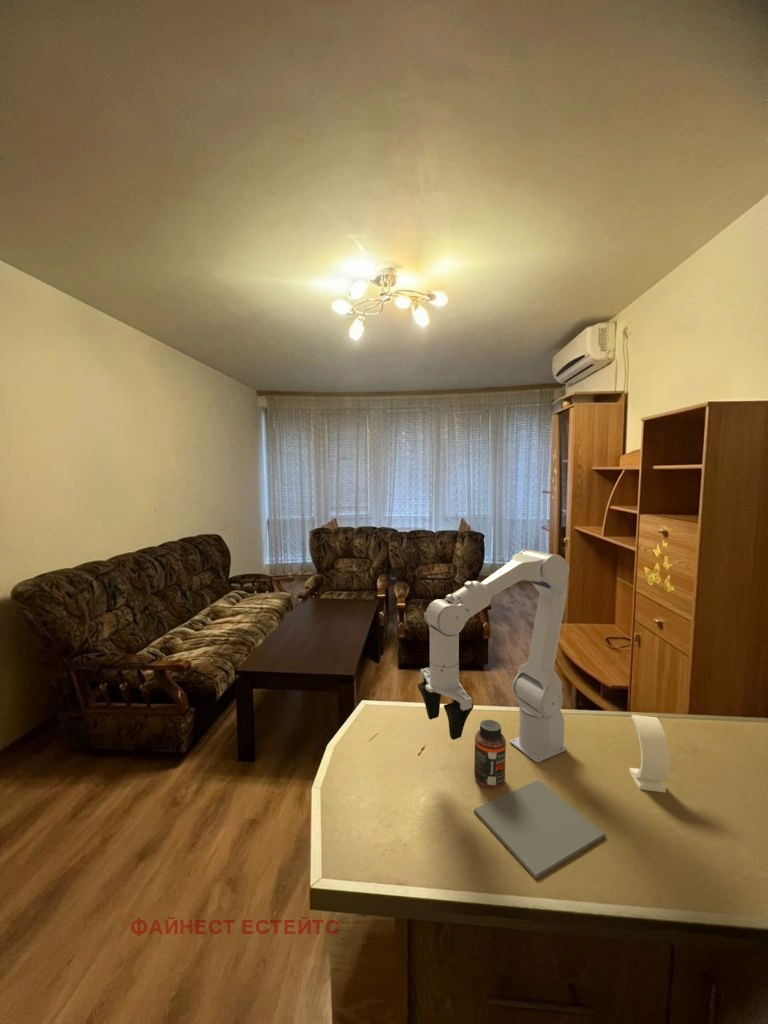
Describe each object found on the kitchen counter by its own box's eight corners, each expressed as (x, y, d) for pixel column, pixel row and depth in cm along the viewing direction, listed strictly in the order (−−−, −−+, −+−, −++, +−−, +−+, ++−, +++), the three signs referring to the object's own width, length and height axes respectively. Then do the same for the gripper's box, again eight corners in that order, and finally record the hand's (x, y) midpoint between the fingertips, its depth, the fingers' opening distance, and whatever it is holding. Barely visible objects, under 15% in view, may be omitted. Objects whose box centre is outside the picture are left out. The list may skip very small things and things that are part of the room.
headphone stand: (654, 774, 82) (656, 717, 82) (668, 796, 76) (671, 735, 76) (629, 771, 83) (631, 714, 82) (641, 793, 77) (643, 732, 77)
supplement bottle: (500, 795, 77) (501, 737, 76) (469, 783, 80) (470, 727, 79) (508, 776, 82) (509, 721, 81) (479, 765, 85) (480, 713, 84)
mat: (538, 782, 80) (538, 779, 80) (604, 836, 68) (605, 833, 68) (474, 812, 73) (474, 808, 73) (535, 878, 60) (535, 875, 60)
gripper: (408, 652, 85) (408, 714, 86) (449, 681, 72) (449, 754, 73) (435, 645, 89) (436, 706, 89) (480, 672, 76) (480, 742, 77)
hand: (444, 727), depth 82 cm, fingers open, 7 cm apart
